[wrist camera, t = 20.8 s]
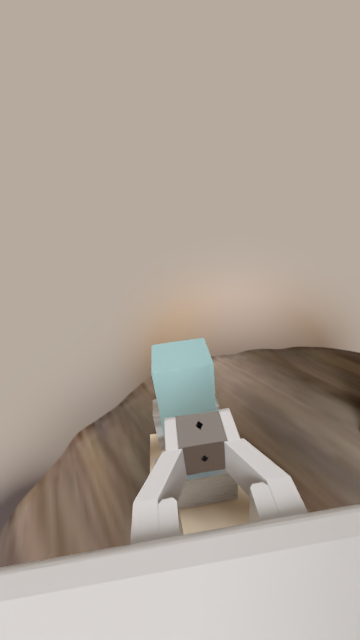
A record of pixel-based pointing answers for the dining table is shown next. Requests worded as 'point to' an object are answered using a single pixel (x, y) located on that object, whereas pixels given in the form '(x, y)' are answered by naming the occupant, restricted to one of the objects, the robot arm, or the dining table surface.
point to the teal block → (183, 378)
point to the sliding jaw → (207, 488)
